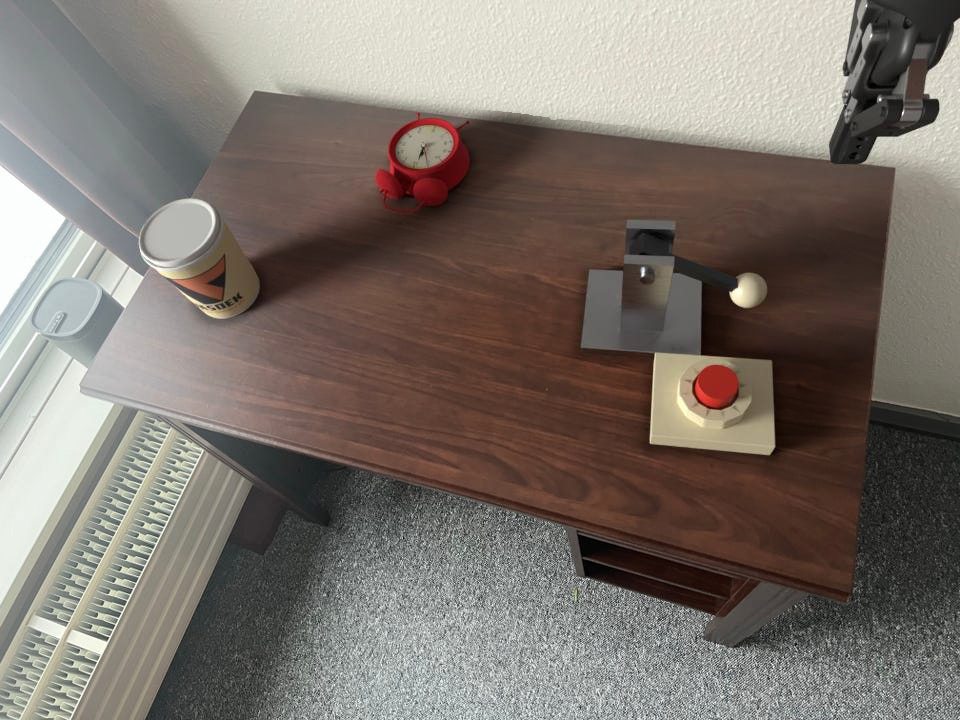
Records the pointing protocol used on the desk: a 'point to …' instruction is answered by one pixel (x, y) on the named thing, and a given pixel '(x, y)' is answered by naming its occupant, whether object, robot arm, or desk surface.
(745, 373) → the control block
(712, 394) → the button
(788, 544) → the desk surface
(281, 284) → the desk surface
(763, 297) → the lever
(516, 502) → the desk surface
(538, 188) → the desk surface
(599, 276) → the bracket
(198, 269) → the cream tin can
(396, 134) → the alarm clock
